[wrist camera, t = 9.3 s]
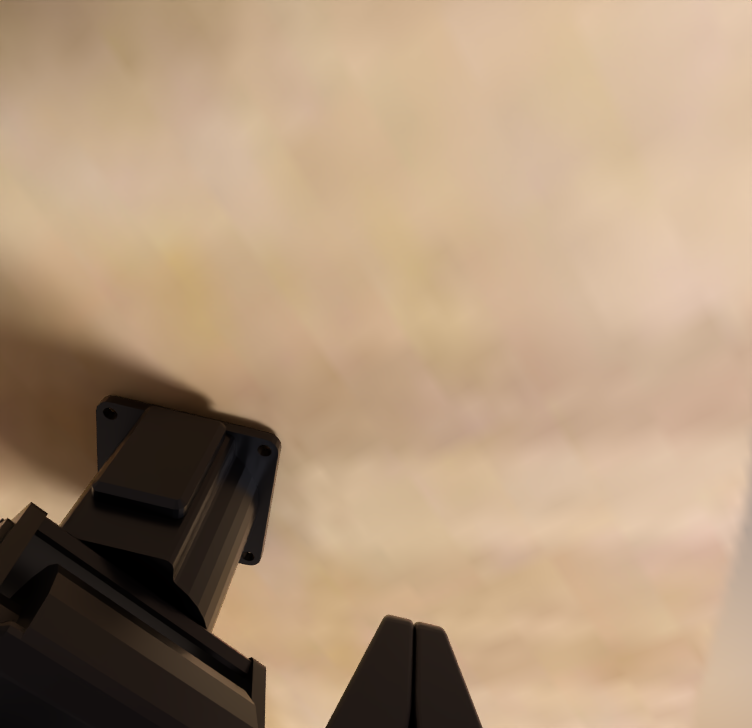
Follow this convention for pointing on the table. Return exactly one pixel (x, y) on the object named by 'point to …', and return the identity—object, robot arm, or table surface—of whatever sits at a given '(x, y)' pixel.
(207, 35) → the table surface
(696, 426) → the table surface
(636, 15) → the table surface
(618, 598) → the table surface
